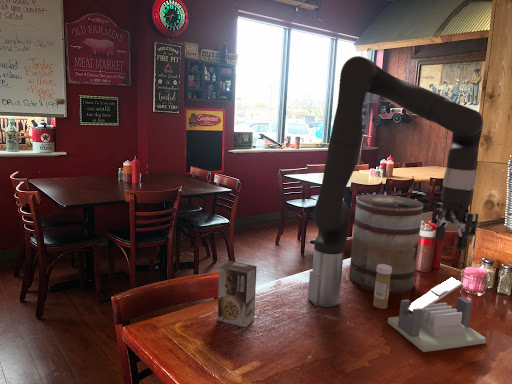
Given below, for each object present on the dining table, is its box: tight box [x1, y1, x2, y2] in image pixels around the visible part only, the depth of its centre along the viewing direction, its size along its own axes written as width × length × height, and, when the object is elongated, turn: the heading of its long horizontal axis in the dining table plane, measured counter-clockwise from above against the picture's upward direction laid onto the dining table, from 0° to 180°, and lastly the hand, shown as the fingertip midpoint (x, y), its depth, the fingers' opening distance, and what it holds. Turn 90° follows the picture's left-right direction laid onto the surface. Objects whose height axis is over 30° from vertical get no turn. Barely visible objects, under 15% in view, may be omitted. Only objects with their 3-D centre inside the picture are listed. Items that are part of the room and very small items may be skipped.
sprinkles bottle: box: [372, 264, 392, 310], centre depth 135 cm, size 5×5×14 cm
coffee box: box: [217, 260, 257, 328], centre depth 122 cm, size 9×6×16 cm
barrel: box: [348, 194, 424, 295], centre depth 154 cm, size 22×22×30 cm
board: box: [387, 296, 487, 353], centre depth 121 cm, size 20×16×9 cm
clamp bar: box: [406, 277, 463, 313], centre depth 119 cm, size 16×4×1 cm, turn 107°
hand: (449, 244), depth 117 cm, fingers open, 7 cm apart
